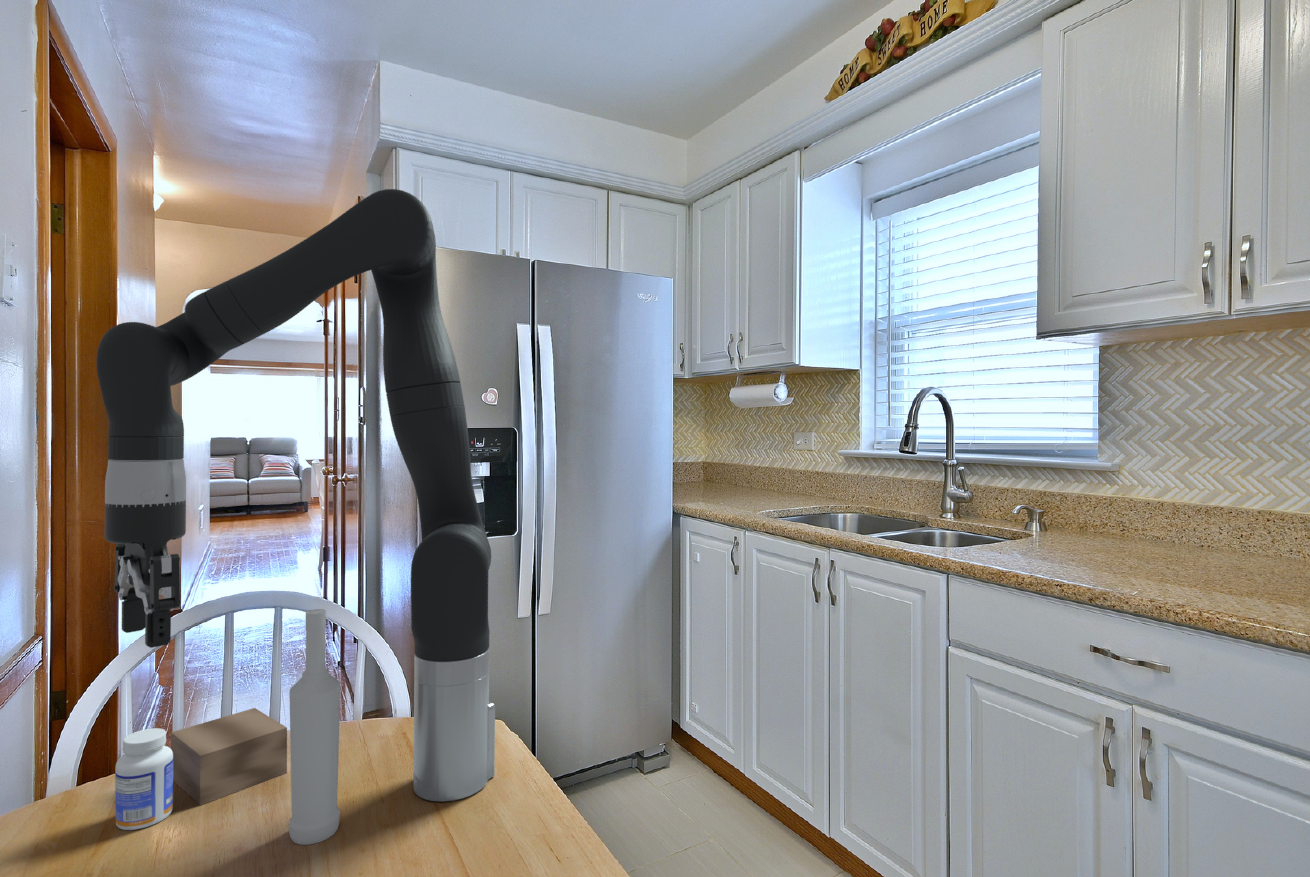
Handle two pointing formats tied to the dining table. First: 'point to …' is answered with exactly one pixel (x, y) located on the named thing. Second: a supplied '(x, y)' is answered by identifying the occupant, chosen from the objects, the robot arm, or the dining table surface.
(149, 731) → the pill bottle
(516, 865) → the dining table surface
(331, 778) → the bottle
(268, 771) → the walnut block
